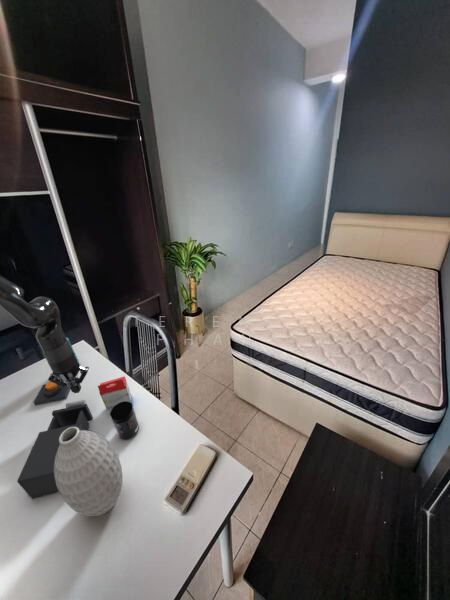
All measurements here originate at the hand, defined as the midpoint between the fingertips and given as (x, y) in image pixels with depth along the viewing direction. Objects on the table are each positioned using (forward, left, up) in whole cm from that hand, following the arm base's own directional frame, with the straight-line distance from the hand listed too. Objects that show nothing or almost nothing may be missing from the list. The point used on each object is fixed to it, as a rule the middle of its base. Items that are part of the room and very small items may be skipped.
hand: (77, 391), depth 89 cm
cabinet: (0, -23, -7) cm, 24 cm away
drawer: (0, -12, -6) cm, 13 cm away
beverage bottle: (-10, +22, -8) cm, 26 cm away
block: (-13, +9, -7) cm, 18 cm away
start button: (-13, +9, -4) cm, 17 cm away
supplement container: (+18, -16, -8) cm, 25 cm away
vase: (+14, -35, -8) cm, 38 cm away
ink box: (+14, -5, -8) cm, 17 cm away
